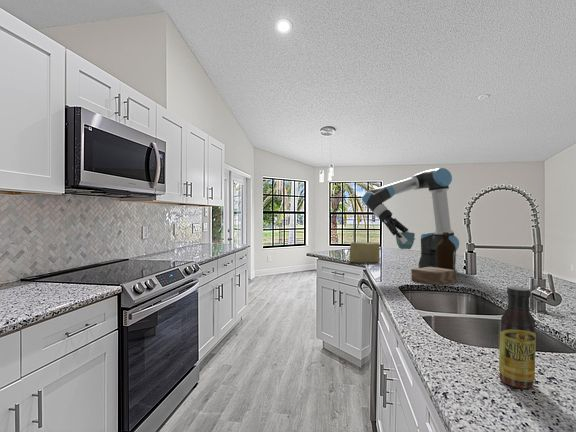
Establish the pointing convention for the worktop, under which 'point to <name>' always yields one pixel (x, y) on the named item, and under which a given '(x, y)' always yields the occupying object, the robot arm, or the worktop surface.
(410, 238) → the flower pot
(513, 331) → the sauce bottle
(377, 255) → the cheese
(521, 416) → the worktop surface
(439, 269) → the walnut base
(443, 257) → the olive oil
